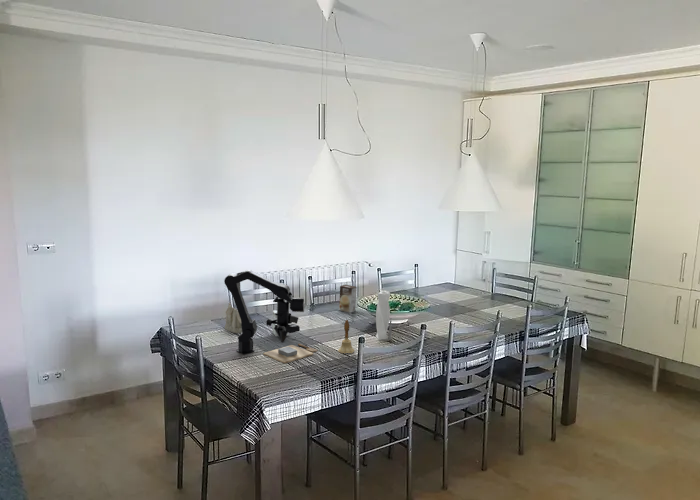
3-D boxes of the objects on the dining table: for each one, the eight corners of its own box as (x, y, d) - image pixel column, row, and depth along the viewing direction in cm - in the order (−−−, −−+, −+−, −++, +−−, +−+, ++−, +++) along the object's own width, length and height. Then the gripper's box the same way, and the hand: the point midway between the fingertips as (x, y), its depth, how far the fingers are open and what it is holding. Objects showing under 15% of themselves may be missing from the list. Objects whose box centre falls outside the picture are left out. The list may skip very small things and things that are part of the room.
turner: (312, 352, 263) (312, 350, 263) (296, 345, 272) (296, 344, 272) (317, 350, 266) (317, 349, 266) (300, 344, 274) (300, 342, 274)
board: (284, 363, 247) (284, 361, 247) (263, 354, 258) (263, 352, 258) (313, 354, 260) (313, 353, 260) (291, 346, 271) (291, 344, 271)
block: (278, 353, 258) (287, 357, 253) (278, 349, 258) (287, 353, 253) (287, 350, 263) (297, 354, 258) (287, 346, 262) (297, 350, 257)
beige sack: (233, 334, 287) (234, 306, 285) (219, 327, 299) (220, 301, 298) (259, 331, 297) (260, 304, 296) (244, 324, 309) (245, 299, 308)
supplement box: (272, 332, 292) (272, 310, 290) (285, 331, 294) (285, 309, 292) (275, 336, 285) (275, 313, 283) (288, 335, 288) (289, 313, 286)
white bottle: (377, 341, 284) (379, 290, 279) (372, 337, 292) (374, 287, 287) (391, 341, 286) (394, 290, 282) (386, 336, 294) (389, 286, 289)
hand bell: (340, 354, 262) (341, 323, 260) (336, 348, 270) (337, 318, 267) (356, 353, 264) (357, 322, 262) (351, 347, 272) (353, 317, 270)
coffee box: (338, 310, 342) (339, 285, 339) (343, 308, 347) (344, 284, 345) (350, 312, 337) (351, 288, 334) (355, 310, 342) (356, 286, 340)
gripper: (308, 312, 257) (307, 343, 260) (283, 304, 270) (283, 334, 272) (290, 316, 249) (290, 348, 252) (265, 308, 262) (265, 338, 264)
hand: (282, 342), depth 260 cm, fingers closed
